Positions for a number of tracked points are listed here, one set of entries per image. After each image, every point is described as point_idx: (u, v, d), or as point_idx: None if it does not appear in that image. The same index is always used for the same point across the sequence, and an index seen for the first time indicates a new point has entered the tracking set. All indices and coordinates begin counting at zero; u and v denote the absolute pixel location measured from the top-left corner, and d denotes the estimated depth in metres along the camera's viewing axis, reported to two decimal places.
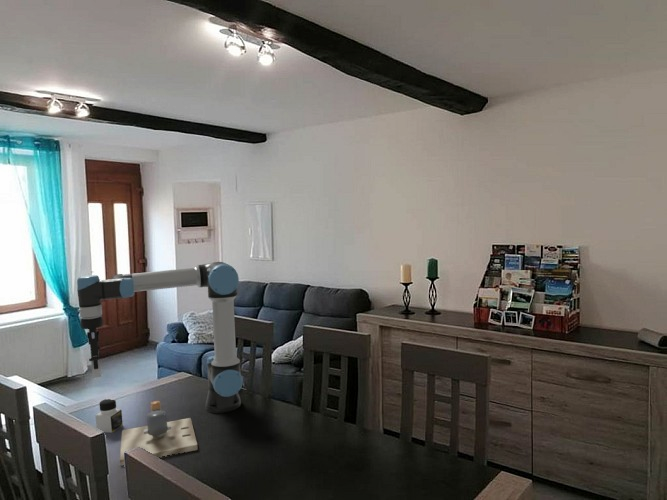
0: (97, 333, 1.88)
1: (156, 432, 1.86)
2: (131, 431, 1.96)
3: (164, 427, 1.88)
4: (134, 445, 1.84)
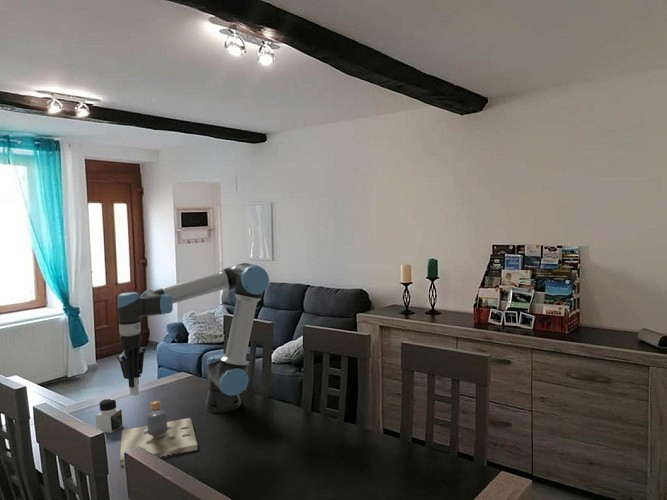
0: None
1: (156, 432, 1.86)
2: (131, 431, 1.96)
3: (164, 427, 1.88)
4: (134, 445, 1.84)
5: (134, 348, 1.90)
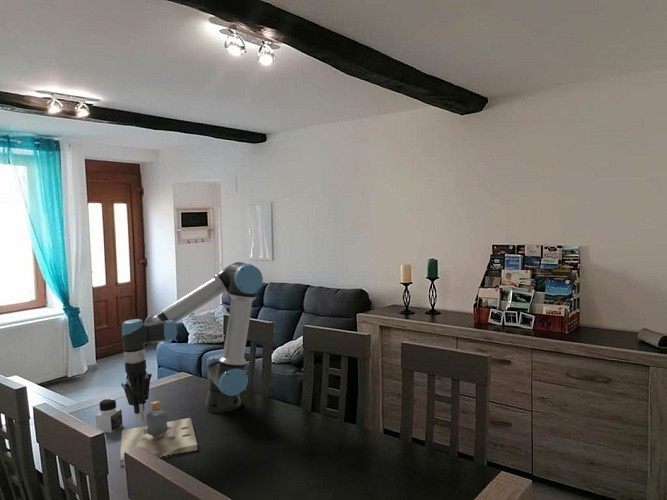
0: None
1: (156, 432, 1.86)
2: (131, 431, 1.96)
3: (164, 427, 1.88)
4: (134, 445, 1.84)
5: (139, 375, 1.92)
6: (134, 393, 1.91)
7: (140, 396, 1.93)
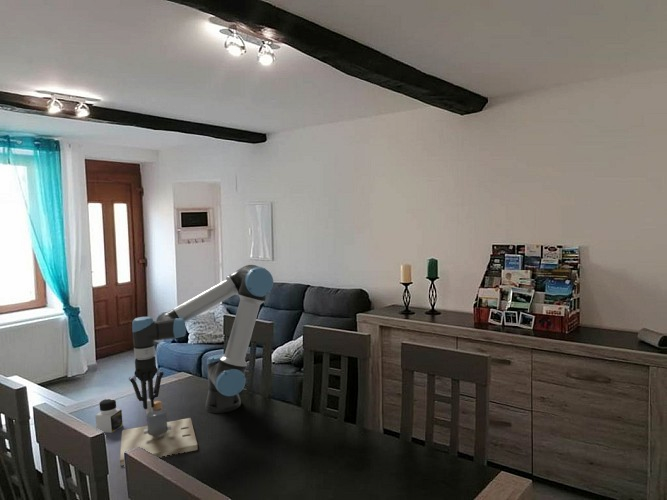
0: None
1: (156, 432, 1.86)
2: (131, 431, 1.96)
3: (164, 427, 1.88)
4: (134, 445, 1.84)
5: (147, 372, 1.94)
6: (142, 389, 1.94)
7: (149, 392, 1.96)
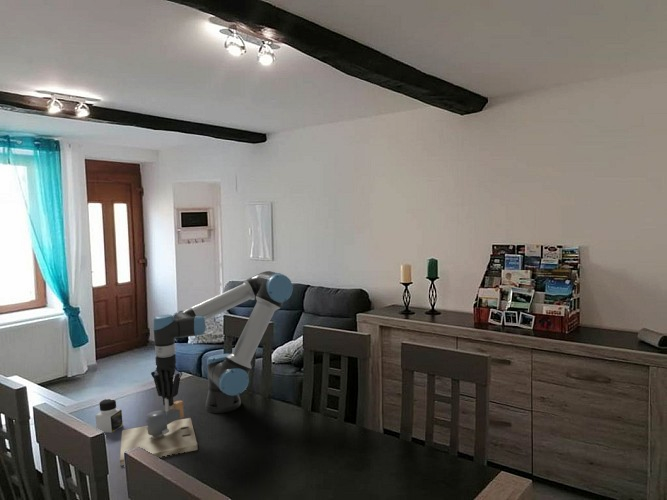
0: None
1: (149, 432, 1.87)
2: (131, 431, 1.96)
3: (157, 430, 1.86)
4: (134, 445, 1.84)
5: (165, 370, 1.95)
6: None
7: None
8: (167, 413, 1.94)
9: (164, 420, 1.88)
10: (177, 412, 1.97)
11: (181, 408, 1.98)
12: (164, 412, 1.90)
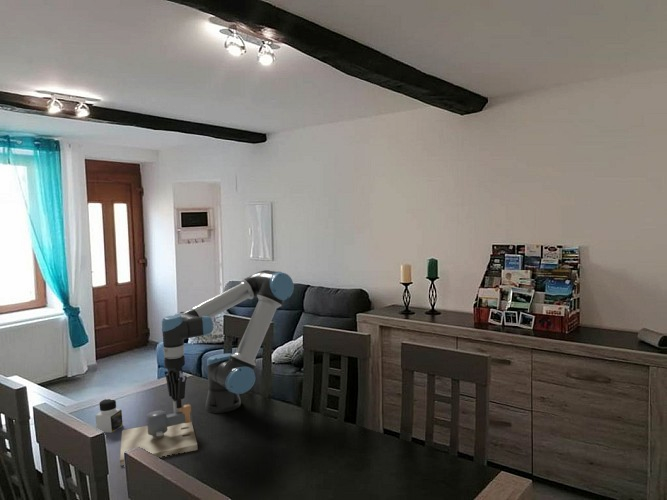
0: None
1: None
2: (131, 431, 1.96)
3: (151, 430, 1.86)
4: (134, 445, 1.84)
5: (172, 371, 1.93)
6: None
7: None
8: (170, 415, 1.92)
9: (159, 422, 1.87)
10: (182, 416, 1.92)
11: (186, 413, 1.93)
12: (163, 414, 1.89)
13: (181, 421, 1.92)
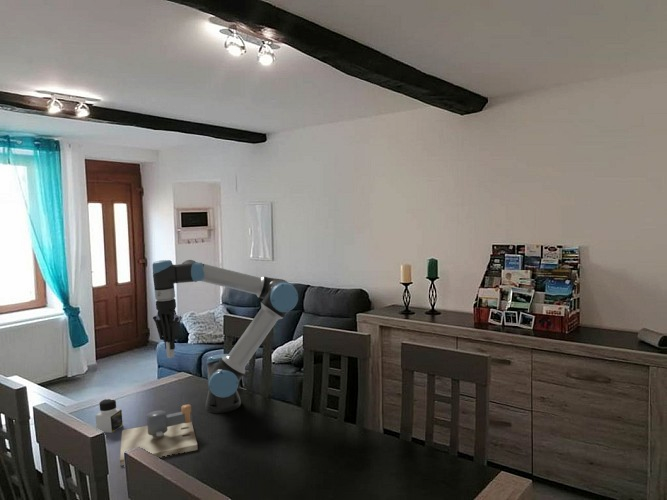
0: None
1: None
2: (131, 431, 1.96)
3: (151, 430, 1.86)
4: (134, 445, 1.84)
5: (165, 314, 1.99)
6: None
7: None
8: (170, 415, 1.92)
9: (159, 422, 1.87)
10: (182, 416, 1.92)
11: (186, 413, 1.93)
12: (163, 414, 1.89)
13: (181, 421, 1.92)
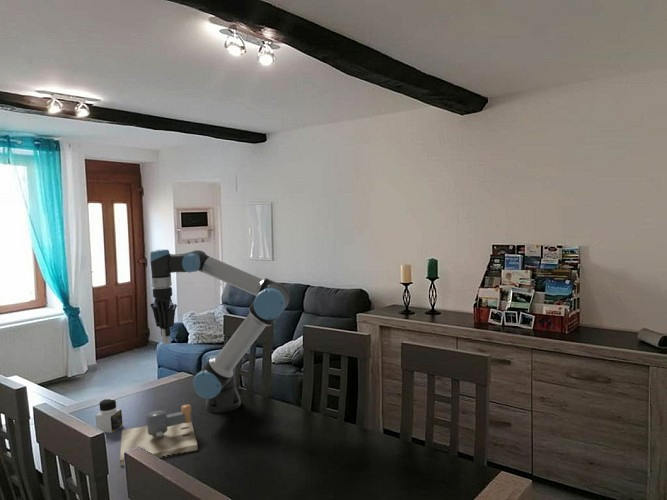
0: None
1: None
2: (131, 431, 1.96)
3: (151, 430, 1.86)
4: (134, 445, 1.84)
5: (161, 301, 2.06)
6: None
7: None
8: (170, 415, 1.92)
9: (159, 422, 1.87)
10: (182, 416, 1.92)
11: (186, 413, 1.93)
12: (163, 414, 1.89)
13: (181, 421, 1.92)
